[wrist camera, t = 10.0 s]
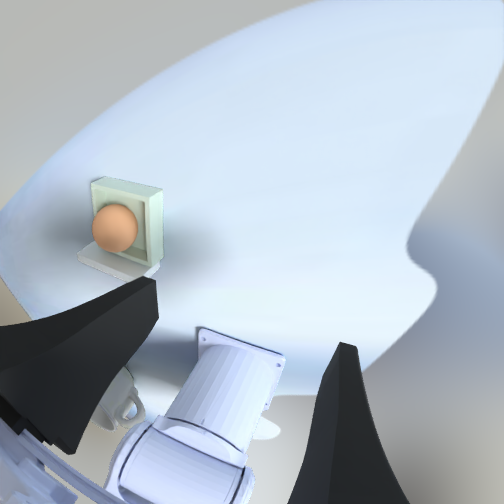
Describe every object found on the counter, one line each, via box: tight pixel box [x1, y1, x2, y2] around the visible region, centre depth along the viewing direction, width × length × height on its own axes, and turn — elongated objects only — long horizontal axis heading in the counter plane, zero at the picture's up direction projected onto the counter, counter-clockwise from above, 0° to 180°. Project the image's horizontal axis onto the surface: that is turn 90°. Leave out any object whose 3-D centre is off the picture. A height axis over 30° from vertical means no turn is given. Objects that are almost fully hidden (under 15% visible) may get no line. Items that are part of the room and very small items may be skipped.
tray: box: [91, 176, 164, 268], centre depth 23 cm, size 6×6×2 cm
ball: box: [92, 204, 138, 253], centre depth 22 cm, size 4×4×4 cm
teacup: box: [90, 366, 145, 432], centre depth 35 cm, size 14×11×8 cm
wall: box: [77, 240, 160, 283], centre depth 24 cm, size 1×7×3 cm, turn 83°
